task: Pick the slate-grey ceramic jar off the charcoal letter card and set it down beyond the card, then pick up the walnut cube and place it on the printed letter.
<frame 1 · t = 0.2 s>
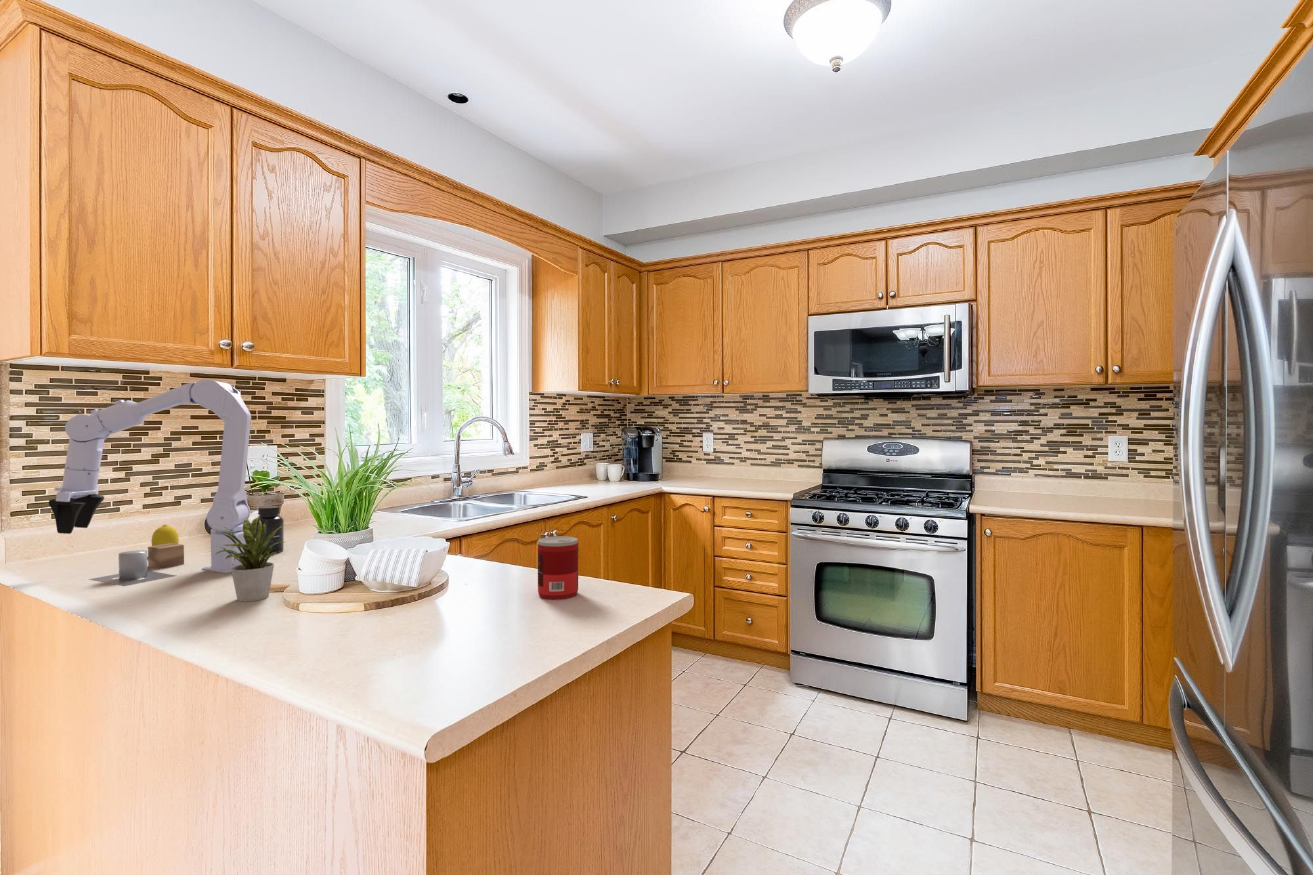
hand: (72, 530, 138), 10 cm above the countertop, tool pointing down, fingers open, 7 cm apart
supplement bottle: (269, 552, 166), on the countertop
walnut cube: (166, 566, 149), on the countertop
canned food: (558, 595, 124), on the countertop
letter card: (133, 578, 137), on the countertop
grey jar: (133, 577, 137), resting on letter card
lemon: (165, 556, 162), on the countertop
house plant: (247, 598, 122), on the countertop
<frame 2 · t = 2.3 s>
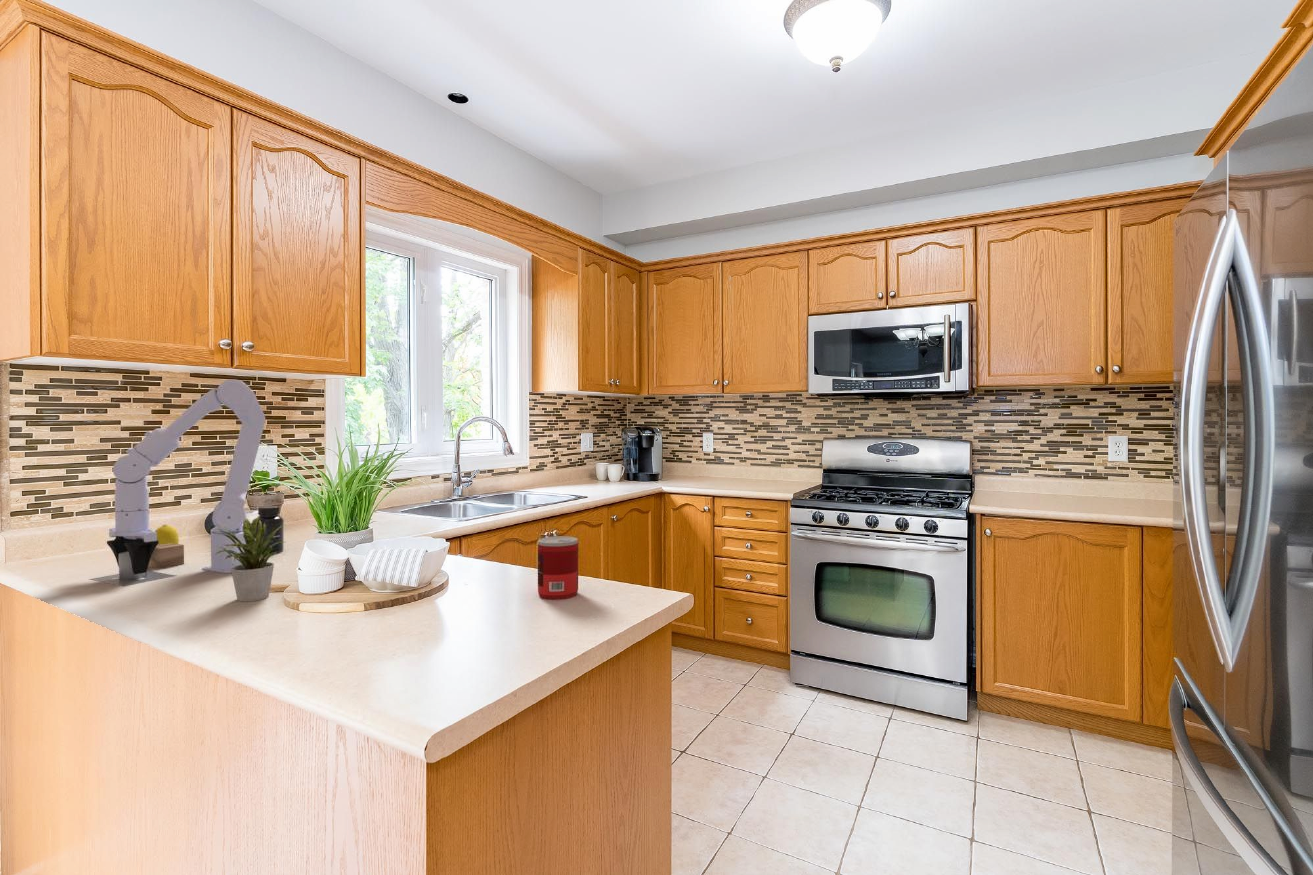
hand: (133, 571, 137), 1 cm above the countertop, tool pointing down, fingers closed on grey jar, 5 cm apart
grey jar: (133, 577, 137), resting on letter card, touching gripper
everything else where it was.
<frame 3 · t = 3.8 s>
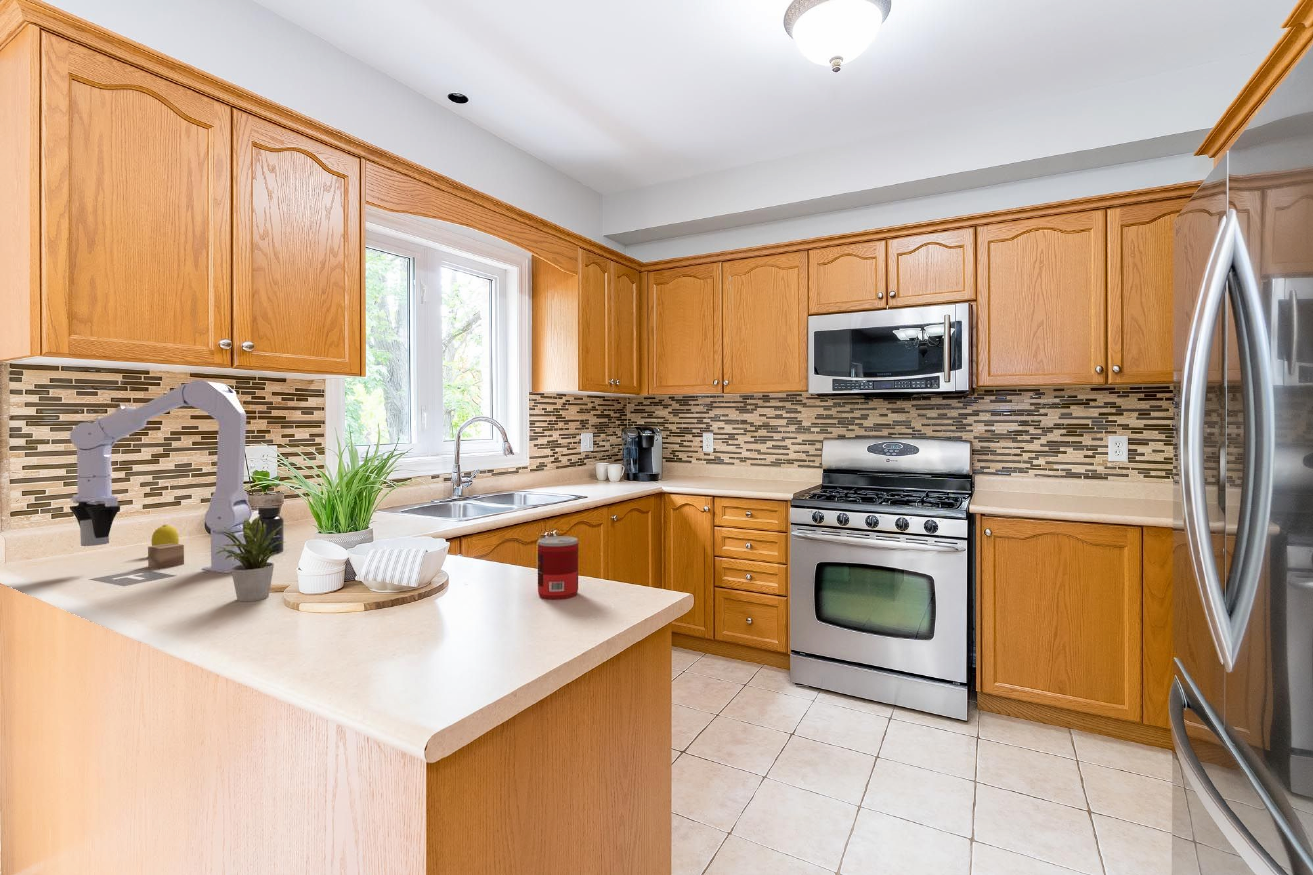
hand: (95, 536, 142), 8 cm above the countertop, tool pointing down, fingers closed on grey jar, 5 cm apart
grey jar: (95, 544, 142), point 7 cm above the countertop, touching gripper
everything else where it was.
when the fingers open (3 cm above the countertop, at t = 5.3 s): grey jar drops 1 cm, on the countertop.
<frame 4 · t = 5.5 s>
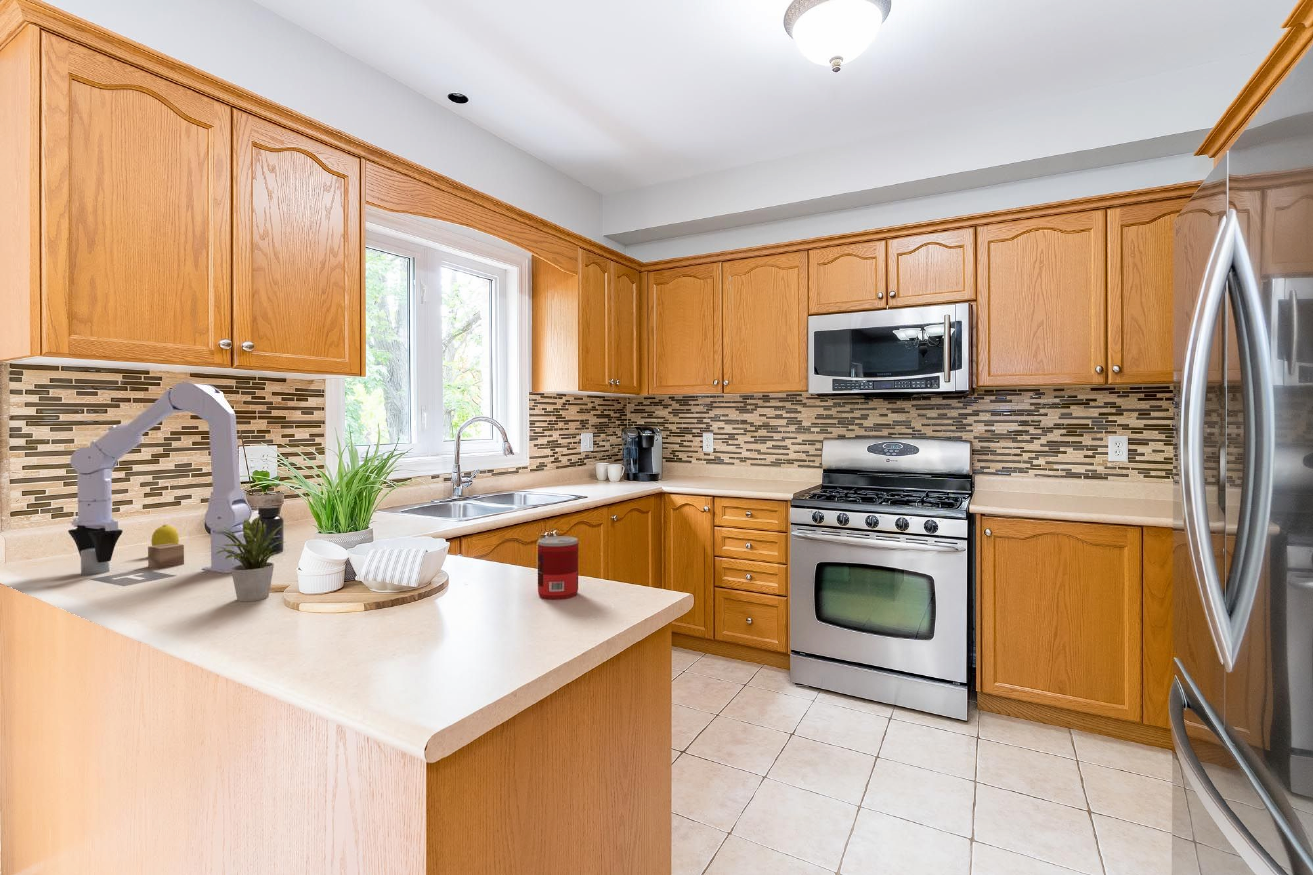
hand: (95, 560, 142), 3 cm above the countertop, tool pointing down, fingers open, 6 cm apart
grey jar: (95, 573, 142), on the countertop
everything else where it was.
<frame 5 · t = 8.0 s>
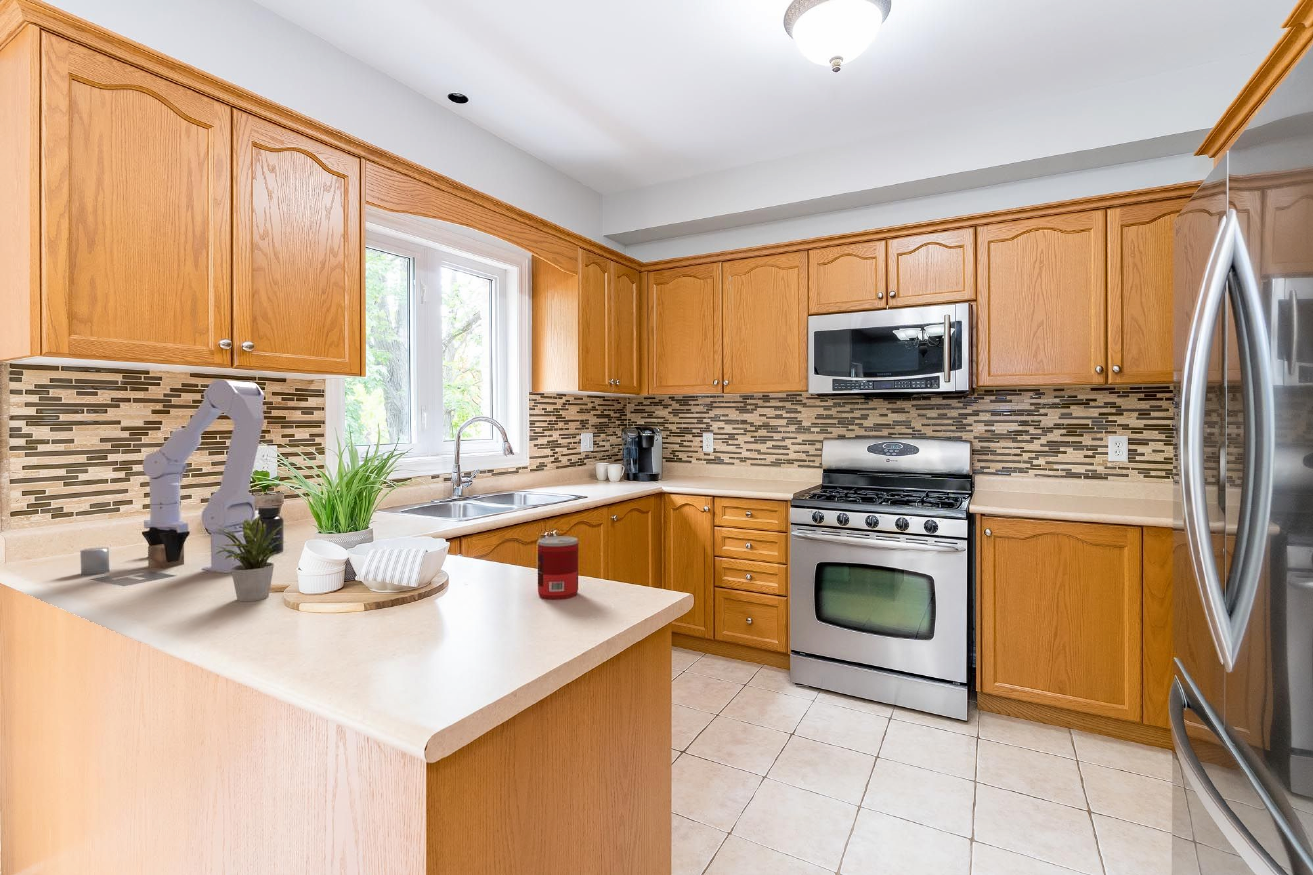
hand: (166, 560, 149), 1 cm above the countertop, tool pointing down, fingers closed on walnut cube, 5 cm apart
walnut cube: (166, 566, 149), on the countertop, touching gripper
everything else where it was.
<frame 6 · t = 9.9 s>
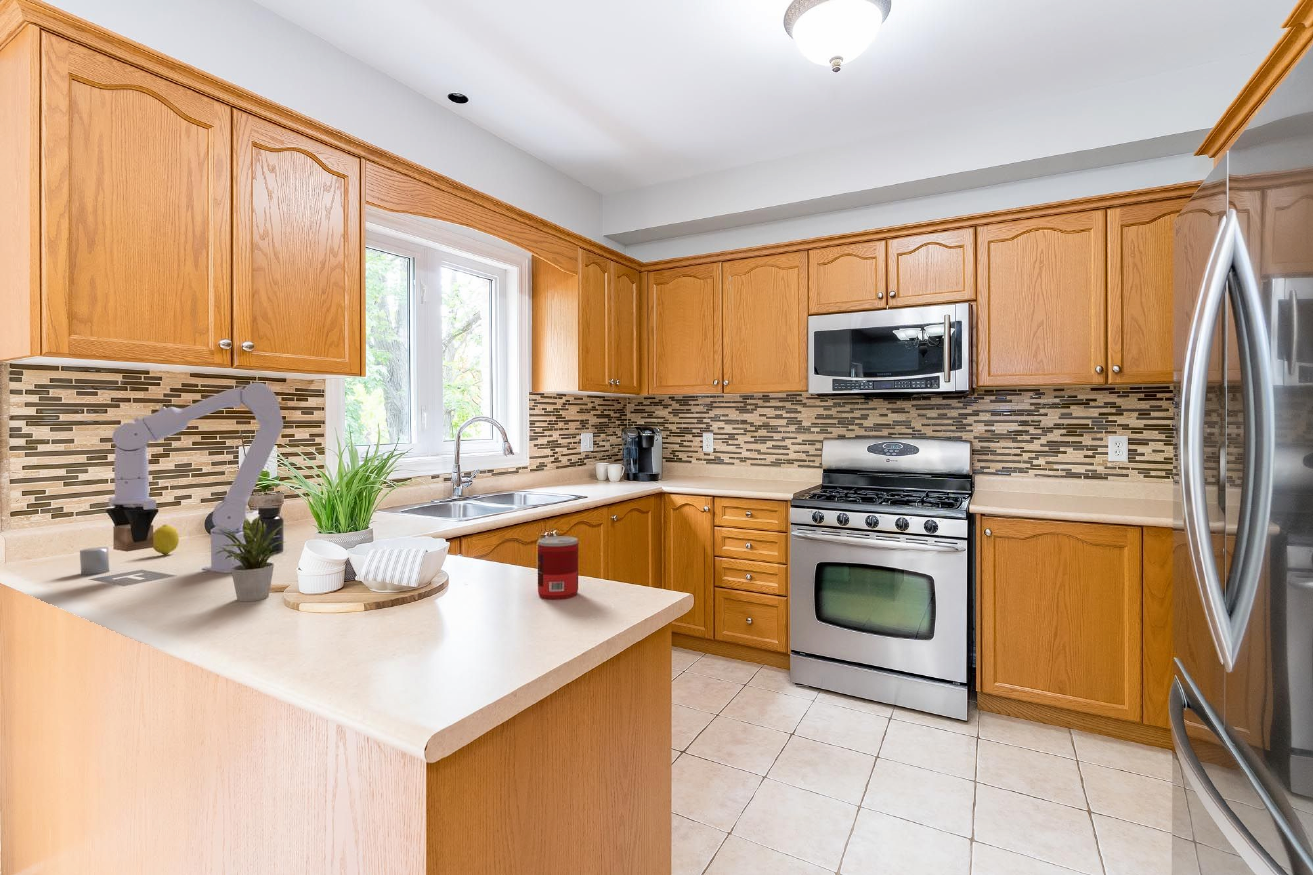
hand: (132, 540, 137), 8 cm above the countertop, tool pointing down, fingers closed on walnut cube, 5 cm apart
walnut cube: (133, 548, 137), point 7 cm above the countertop, touching gripper
everything else where it was.
when the fingers open (3 cm above the countertop, at t = 11.4 s): walnut cube stays where it is, resting on letter card.
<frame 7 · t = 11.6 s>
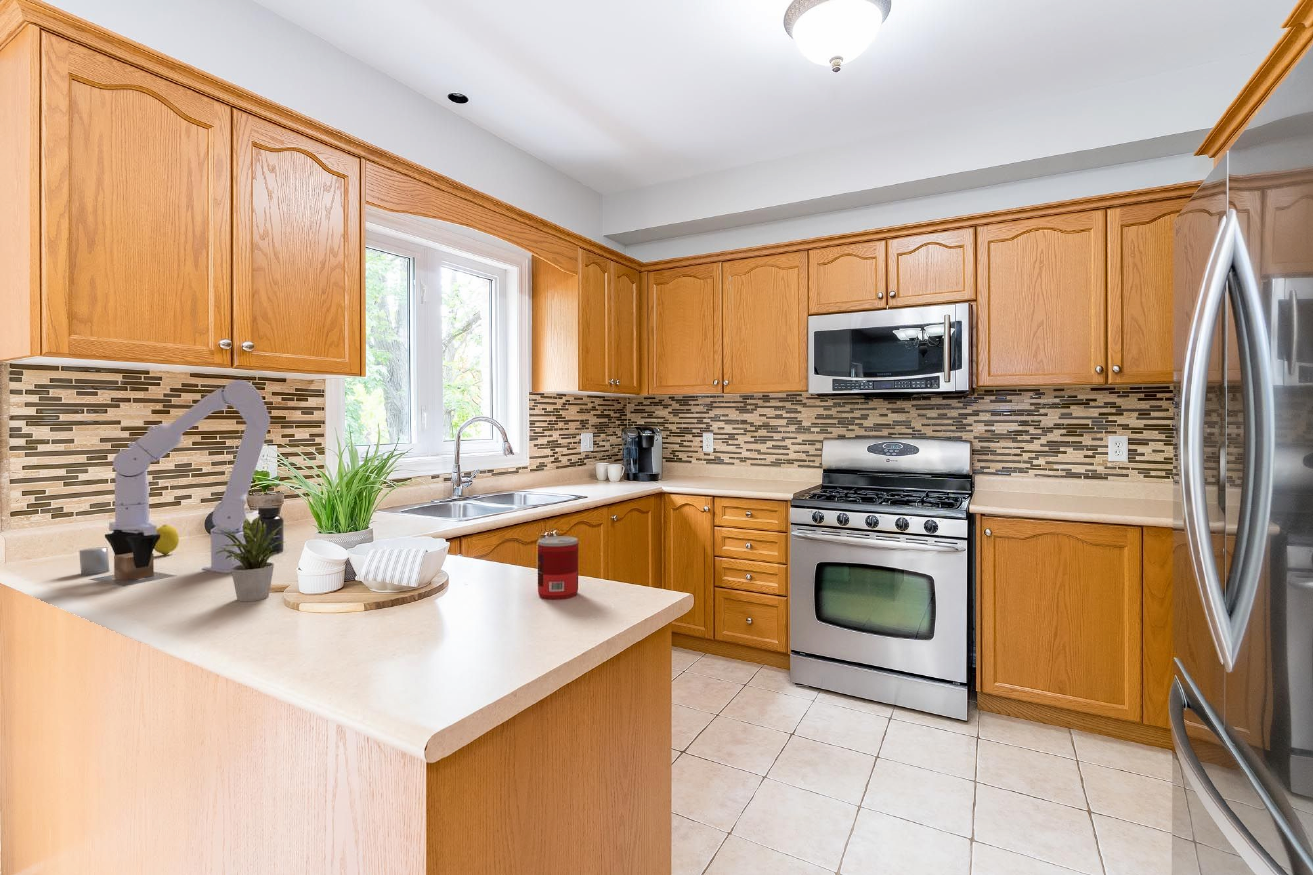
hand: (133, 565, 137), 3 cm above the countertop, tool pointing down, fingers open, 6 cm apart
walnut cube: (134, 577, 137), resting on letter card
everything else where it was.
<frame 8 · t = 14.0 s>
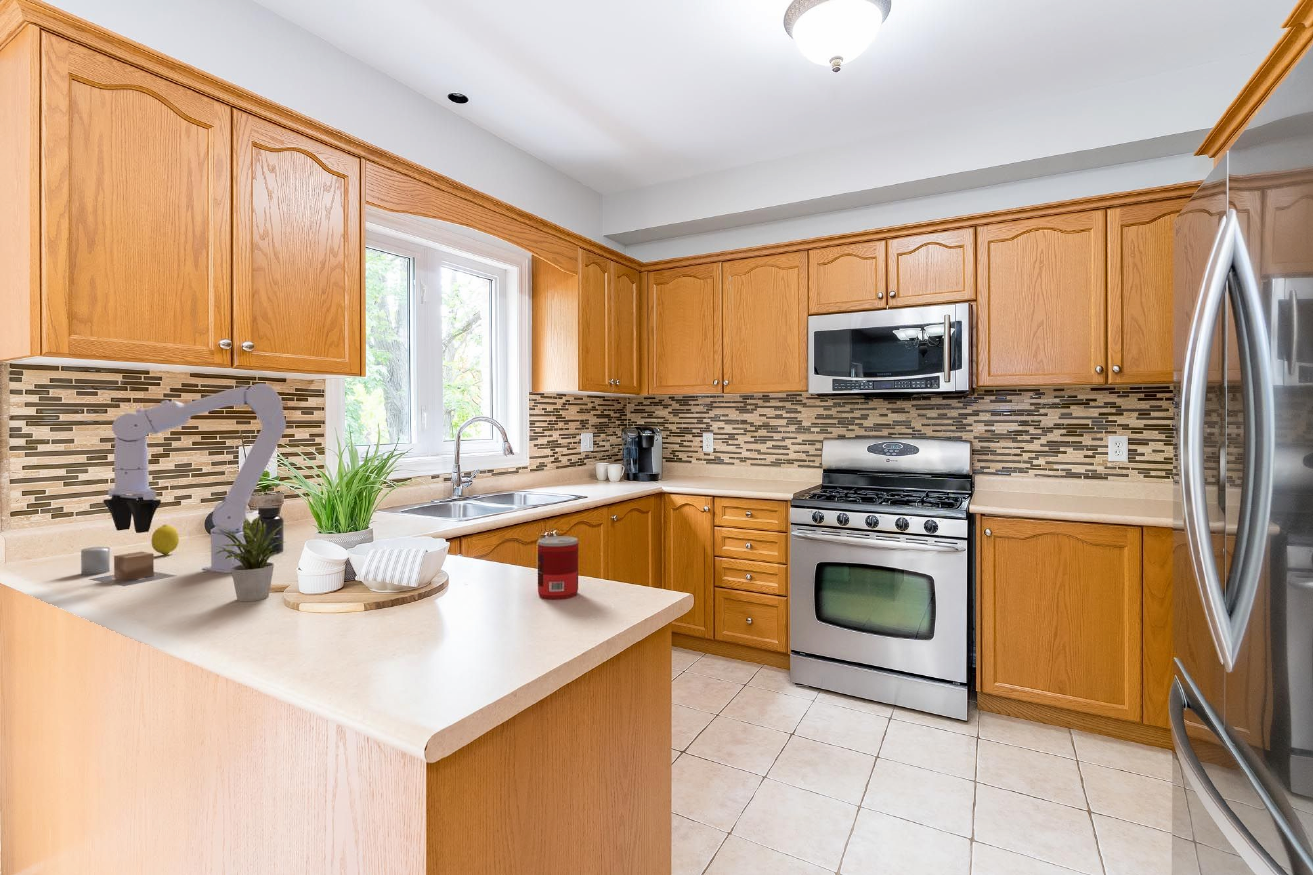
hand: (132, 531, 137), 10 cm above the countertop, tool pointing down, fingers open, 7 cm apart
nothing on the countertop moved.
at the end: grey jar moved 13.1 cm from its start; walnut cube inside the target area on the letter card (0.1 cm from its centre), point 0.2 cm above the letter card's base; the gripper is holding nothing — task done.
